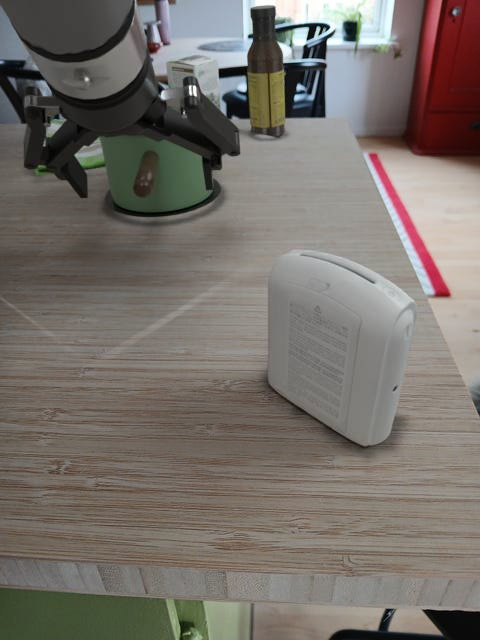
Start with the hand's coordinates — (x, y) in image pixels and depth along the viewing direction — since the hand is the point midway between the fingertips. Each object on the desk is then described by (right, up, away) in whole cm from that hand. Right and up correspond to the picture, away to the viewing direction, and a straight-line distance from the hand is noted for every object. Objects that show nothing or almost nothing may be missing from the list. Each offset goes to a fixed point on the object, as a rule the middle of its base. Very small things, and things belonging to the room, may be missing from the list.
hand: (146, 182), depth 56 cm
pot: (0, 0, +11) cm, 11 cm away
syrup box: (+4, +12, +30) cm, 32 cm away
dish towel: (-15, +14, +33) cm, 39 cm away
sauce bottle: (+15, +18, +37) cm, 44 cm away
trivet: (0, +2, +16) cm, 16 cm away
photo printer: (+17, -22, -17) cm, 32 cm away
